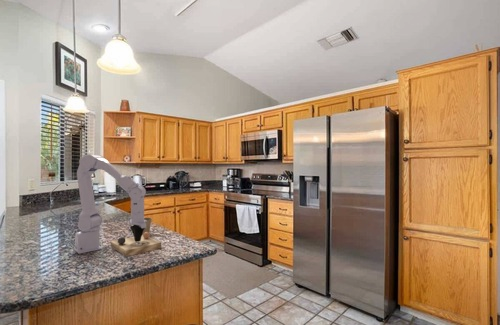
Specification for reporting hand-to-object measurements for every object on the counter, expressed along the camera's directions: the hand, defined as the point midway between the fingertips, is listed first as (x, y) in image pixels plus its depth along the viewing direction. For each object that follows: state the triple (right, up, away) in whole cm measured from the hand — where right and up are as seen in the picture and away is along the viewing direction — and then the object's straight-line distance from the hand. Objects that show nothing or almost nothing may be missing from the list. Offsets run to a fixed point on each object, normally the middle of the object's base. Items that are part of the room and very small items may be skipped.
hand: (137, 240), depth 121 cm
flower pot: (-8, -4, +24) cm, 26 cm away
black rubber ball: (-7, +1, -2) cm, 7 cm away
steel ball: (+1, -2, -2) cm, 3 cm away
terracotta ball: (+1, +1, +7) cm, 8 cm away
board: (-2, -3, +2) cm, 4 cm away
